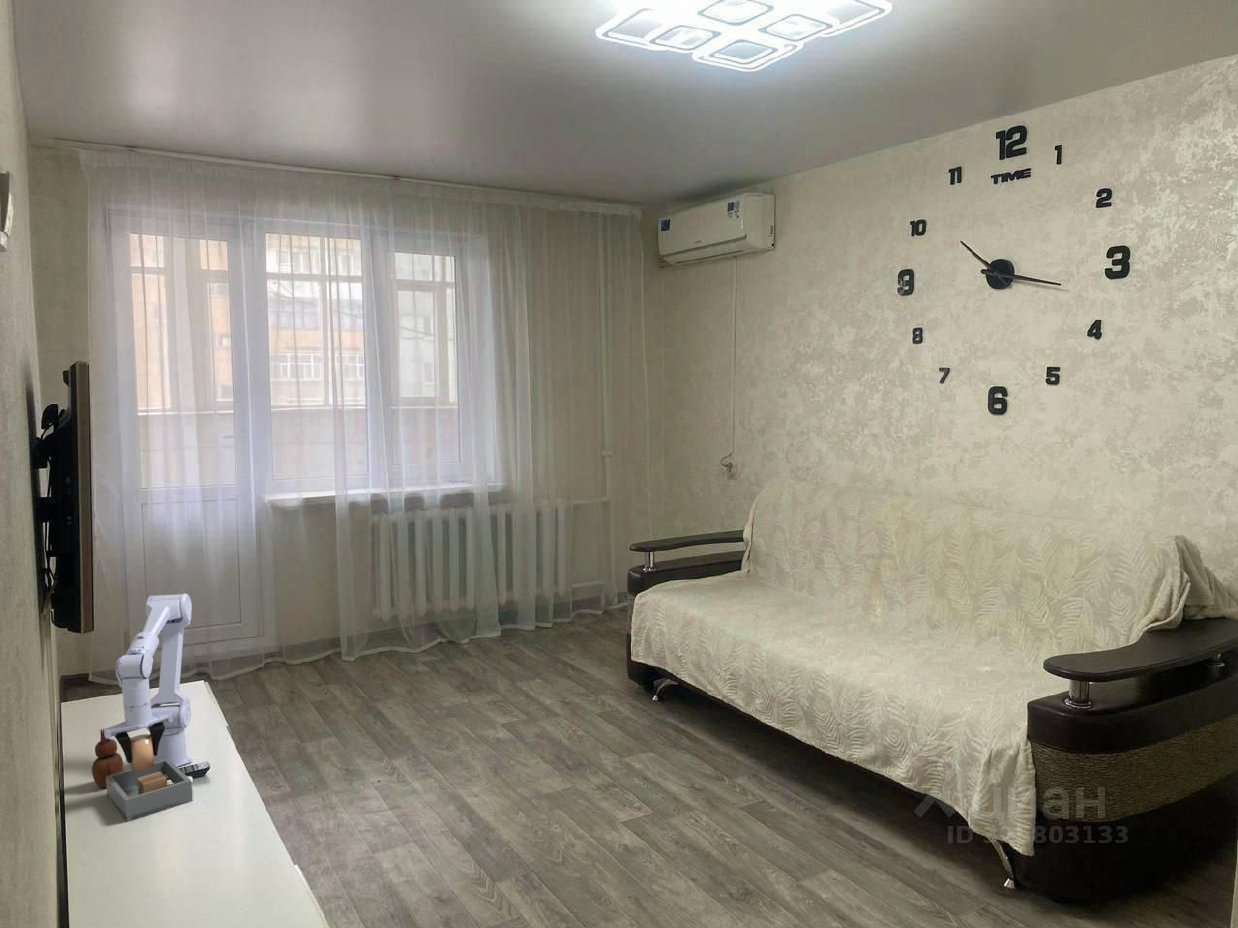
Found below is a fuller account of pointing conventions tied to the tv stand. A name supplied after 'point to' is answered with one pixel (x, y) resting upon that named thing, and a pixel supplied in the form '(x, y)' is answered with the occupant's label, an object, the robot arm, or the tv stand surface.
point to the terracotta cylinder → (141, 752)
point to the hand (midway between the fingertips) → (141, 758)
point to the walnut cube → (151, 782)
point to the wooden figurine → (106, 760)
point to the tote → (136, 806)
